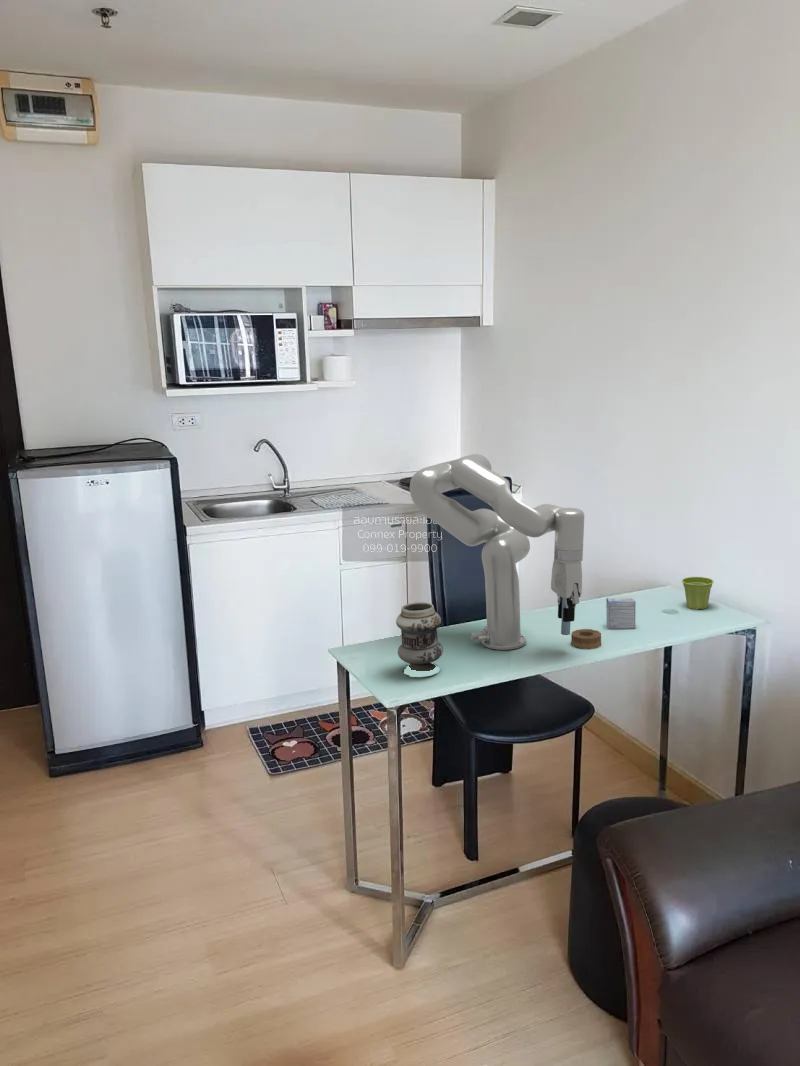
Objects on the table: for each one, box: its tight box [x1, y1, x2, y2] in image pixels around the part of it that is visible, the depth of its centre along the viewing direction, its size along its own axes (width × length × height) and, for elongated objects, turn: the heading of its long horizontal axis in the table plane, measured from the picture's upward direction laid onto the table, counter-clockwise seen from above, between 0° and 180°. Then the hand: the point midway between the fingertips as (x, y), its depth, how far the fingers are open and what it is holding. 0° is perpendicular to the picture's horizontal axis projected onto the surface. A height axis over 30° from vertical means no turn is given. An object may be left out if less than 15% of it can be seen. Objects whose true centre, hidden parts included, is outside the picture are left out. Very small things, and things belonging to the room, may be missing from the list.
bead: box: [570, 628, 602, 650], centre depth 228 cm, size 8×8×3 cm
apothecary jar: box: [395, 601, 444, 671], centre depth 213 cm, size 12×12×18 cm
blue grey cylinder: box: [560, 595, 572, 636], centre depth 221 cm, size 2×2×12 cm
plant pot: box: [681, 576, 714, 610], centre depth 255 cm, size 9×9×9 cm
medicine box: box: [605, 596, 637, 630], centre depth 240 cm, size 8×4×9 cm, turn 84°
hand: (566, 618), depth 221 cm, fingers closed on blue grey cylinder, 2 cm apart
